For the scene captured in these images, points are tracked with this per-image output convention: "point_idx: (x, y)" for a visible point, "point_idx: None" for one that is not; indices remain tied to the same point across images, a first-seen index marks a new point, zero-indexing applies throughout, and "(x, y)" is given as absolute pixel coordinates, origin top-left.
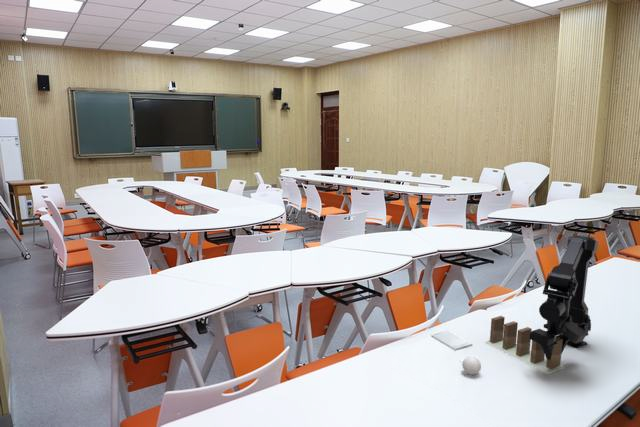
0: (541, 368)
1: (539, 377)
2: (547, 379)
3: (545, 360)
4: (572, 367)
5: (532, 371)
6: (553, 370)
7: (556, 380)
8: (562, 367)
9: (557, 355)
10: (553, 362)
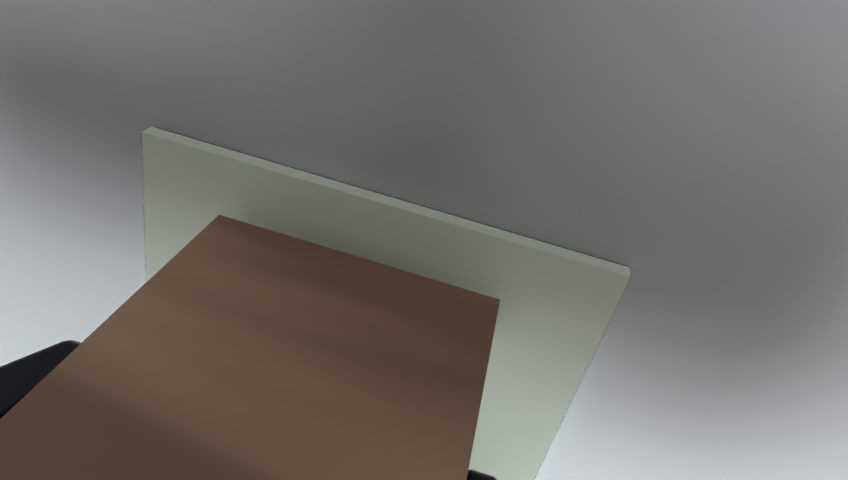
0: (495, 386)
1: (808, 346)
2: (802, 236)
3: None
4: (28, 47)
5: (659, 449)
6: (414, 245)
7: (734, 104)
8: (194, 167)
9: (218, 418)
10: (403, 356)
